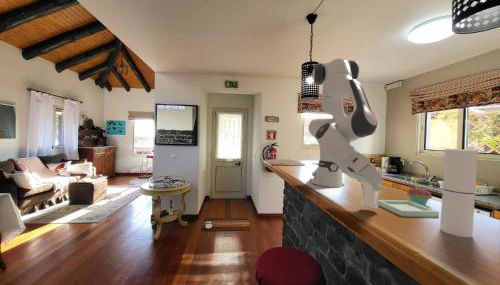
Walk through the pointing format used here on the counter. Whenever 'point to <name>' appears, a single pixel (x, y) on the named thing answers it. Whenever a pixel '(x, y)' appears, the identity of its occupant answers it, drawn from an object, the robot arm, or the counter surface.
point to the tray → (408, 208)
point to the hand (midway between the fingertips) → (372, 187)
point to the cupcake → (419, 195)
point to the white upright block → (370, 194)
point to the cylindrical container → (458, 192)
